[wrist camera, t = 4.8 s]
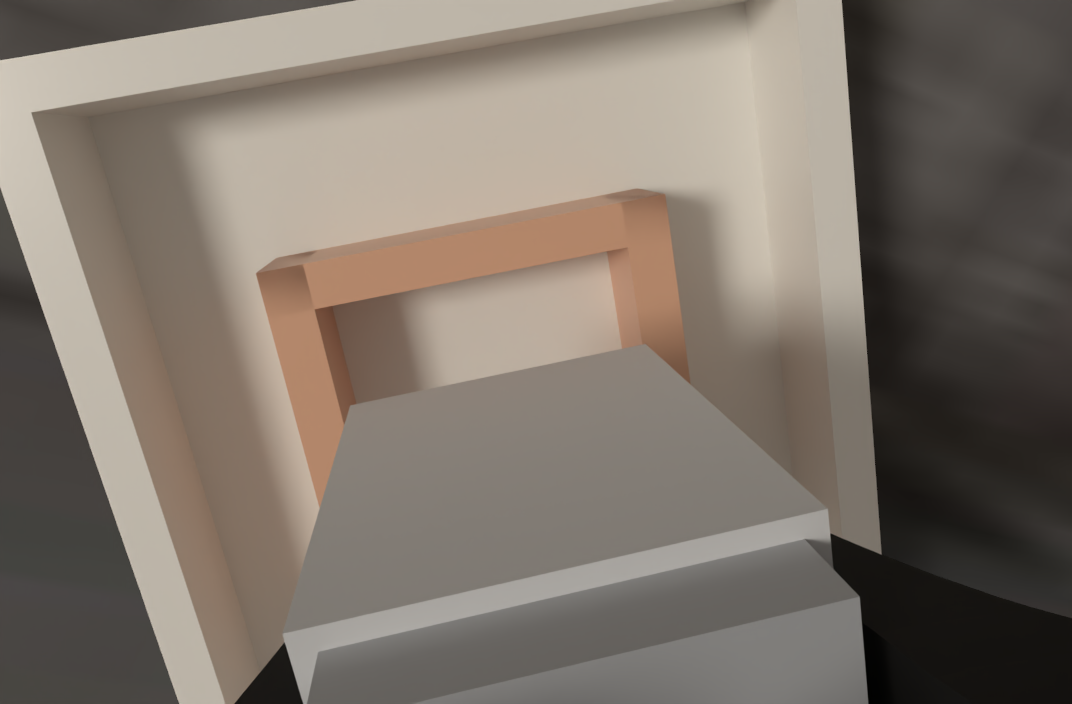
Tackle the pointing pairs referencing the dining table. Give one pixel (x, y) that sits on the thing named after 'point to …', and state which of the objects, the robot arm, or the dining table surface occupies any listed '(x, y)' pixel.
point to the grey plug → (568, 552)
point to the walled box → (425, 253)
